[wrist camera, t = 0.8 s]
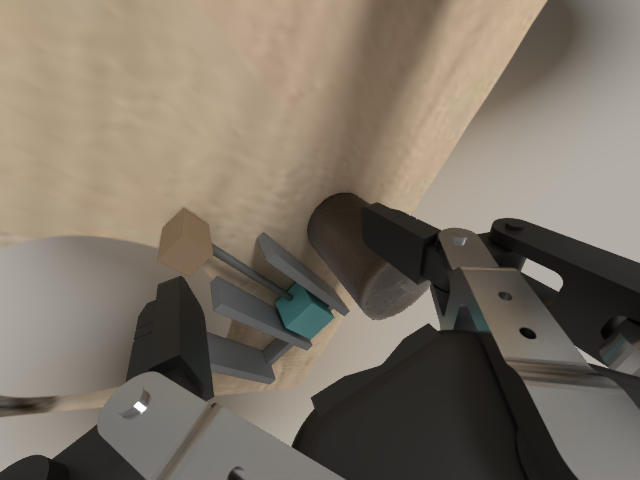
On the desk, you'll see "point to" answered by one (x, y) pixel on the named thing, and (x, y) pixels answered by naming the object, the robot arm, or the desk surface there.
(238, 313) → the lane rack
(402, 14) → the desk surface
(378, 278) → the pillar candle
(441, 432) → the robot arm
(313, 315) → the block ended dumbbell
